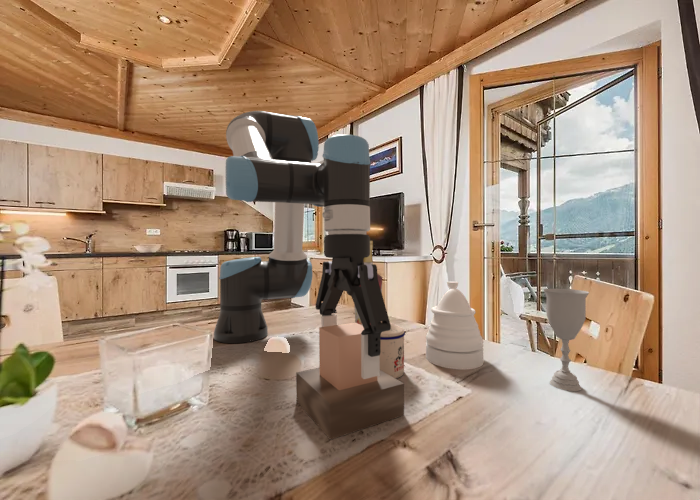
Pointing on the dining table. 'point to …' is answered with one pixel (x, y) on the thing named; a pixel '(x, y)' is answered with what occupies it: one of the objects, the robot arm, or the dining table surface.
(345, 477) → the dining table surface
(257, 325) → the robot arm
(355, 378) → the terracotta block
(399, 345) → the teacup with lid
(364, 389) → the plinth
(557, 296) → the chalice
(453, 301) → the honey pot
